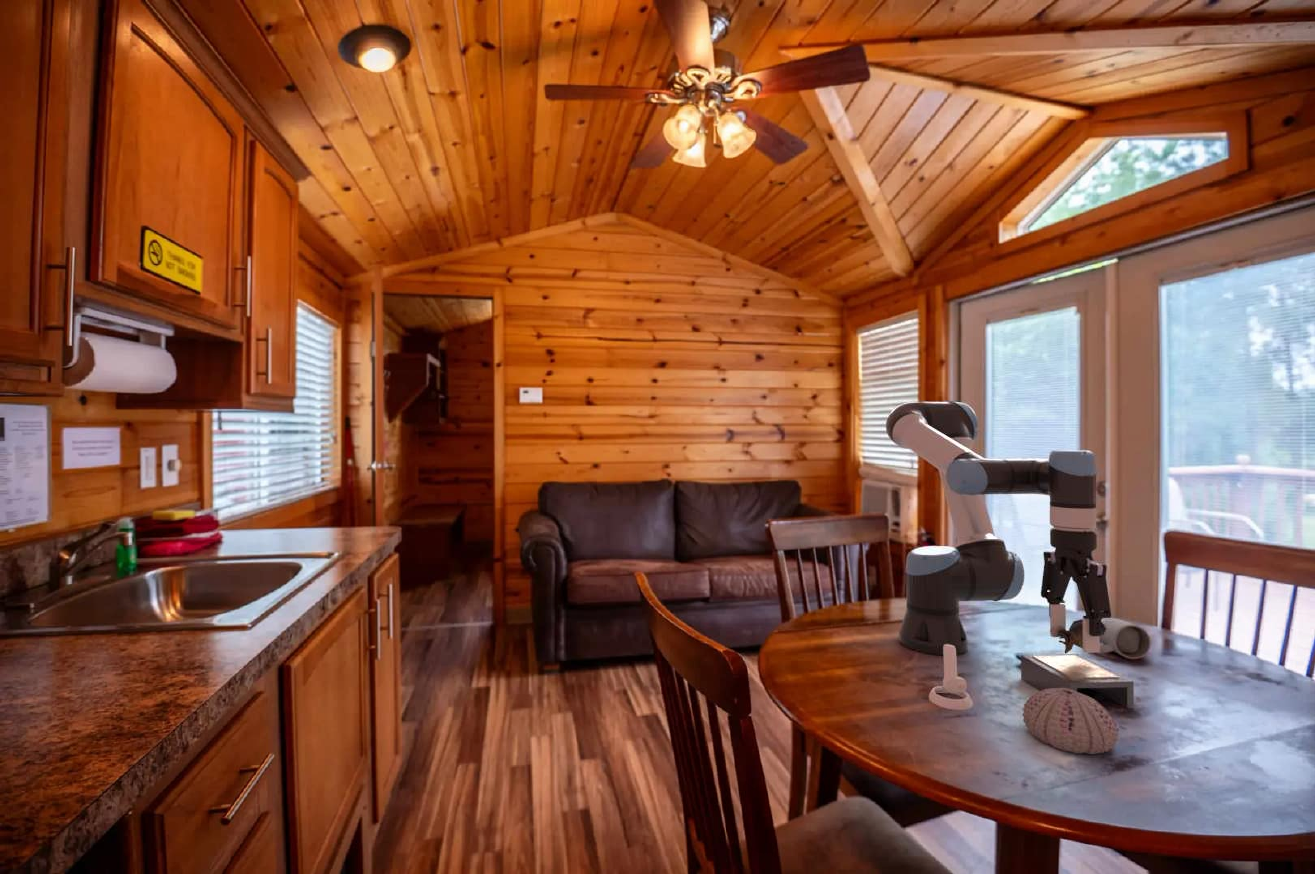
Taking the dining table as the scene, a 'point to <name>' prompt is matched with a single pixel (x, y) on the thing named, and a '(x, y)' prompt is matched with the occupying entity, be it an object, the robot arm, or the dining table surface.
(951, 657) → the vr controller
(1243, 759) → the dining table surface
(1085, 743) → the sea urchin shell
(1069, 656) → the dark boxy piece
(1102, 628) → the eagle figurine
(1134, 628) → the ceramic mug
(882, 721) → the dining table surface
